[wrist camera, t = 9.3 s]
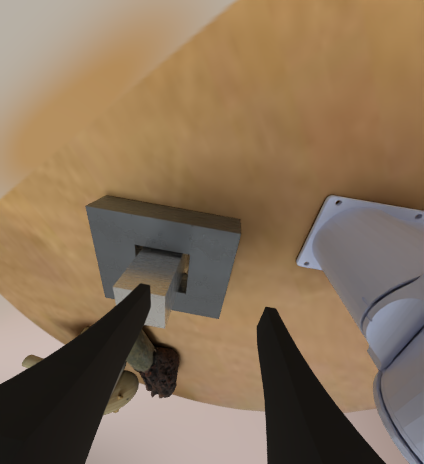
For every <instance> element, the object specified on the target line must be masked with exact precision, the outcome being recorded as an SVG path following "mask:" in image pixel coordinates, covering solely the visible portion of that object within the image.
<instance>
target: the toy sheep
mask: <svg viewBox="0 0 424 464" xmlns="http://www.w3.org/2000/svg"><path fill="white" fill-rule="evenodd" d="M88 328H90V327H86V328H84V330H83V331H82V332H81V334H82V333H83V332H84V331H86V330H87V329H88ZM41 360H43V358H40V357H37V356H34V355H29V356H27V357H26V358H25V359H24V361H23V362H22V366H24V367H26V368H30V367H31V366H33V365H35V364H36V363H38V362H40V361H41ZM126 362H127V361H125V363H124V365H123V367H122V370H121V372H120V374H119V377H118V379H117V381H116V384H115V386H114V389H113V391H112V394H111V396H110V399H109V401H108V404H107V406H106V409H105V411H104V414H103V415H106V414H109V413H111V412H114V413H116V412H118V411H119V409H120V408H121V407H123V406H124V405H125V404H127V403H128V402H129V401H130V400H131V399H132V398H133V397H134V395H135V394H136V392H137V390H138V385H139V382H138V378H137V376H136V375H135V374H134V373H132V372H130V371H126V370H124V369H125V366H126Z"/></svg>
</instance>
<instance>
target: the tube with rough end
mask: <svg viewBox="0 0 424 464" xmlns="http://www.w3.org/2000/svg"><path fill="white" fill-rule="evenodd" d="M126 361H127V362H128V363H129V364H130V365H131V366H132V367H133V368H134V370H136V371H137V372H139V373H140V375H141V377H142V378H143V380H144V382H145V385H146V389H147V390H148V391H152V392H151V396H152V397H153V396H154V395H156V394H159V398H162V397H164V398H166V397H169V396H170V395H172V393H173V392H174V390H175V388H176V380H177V372H178V367H179V357H178V355H177V354H176V352H175V351H174V350H172V349H171V348H166V347H164V348H161V347H154V346H153V344H152V343H151V342H150V340H149V339H148V337H147V335H146V334H145V333H144V331H143V330H141V332H140V334H139V336H138V338H137V340H136V342H135V343H134V345H133V347H132V349H131V351H130V353H129V355H128V357H127V359H126Z"/></svg>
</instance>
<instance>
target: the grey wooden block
mask: <svg viewBox="0 0 424 464" xmlns="http://www.w3.org/2000/svg"><path fill="white" fill-rule="evenodd" d="M186 266H187V254H183V253H178V252H172V251H167V250H161V249H156V248H151V247H145V246H144V247H143V248H142V250H141V251H140V252H139V254H138V255H137V256H136V257H135V259H134V260H133V261H132V263H131V264H130V265H129V266H128V268H127V269H126V270H125V272H124V273H123V274H122V276H121V277H120V278H119V279H118V281H117V282H116V283H115V285H114V286H113V291H114V296H115V301H116V305H117V304H119V303H120V302H121V301H122V300H123V299H124V298H125V297H126V296H127V295H128V294H129V293H130V292H132V291H133V290H134V289H135V288H136V287H137V286H138V285H139V284H140V283H142V284H148V285H150V291H151V308H150V311H149V314H148V316H147V319H146V321H145V324H144V325H149V326H154V327H159V328H165V327H166V324H167V321H168V318H169V315H170V312H171V310H172V307H173V304H174V301H175V298H176V295H177V292H178V290H179V287H180V284H181V281H182V278H183V275H184V272H185V270H186Z"/></svg>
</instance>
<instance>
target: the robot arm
mask: <svg viewBox="0 0 424 464" xmlns="http://www.w3.org/2000/svg"><path fill="white" fill-rule="evenodd" d="M338 200H340V202H339V203H338V204H335V203H336V201H338ZM416 215H418V216H417V217H415V216H416ZM305 262H307V263H305ZM296 263H297V265H298V266H301V267H307V268H312V269H318V270H323V272H324V273H325V275H326V276H327V278H328V280H329V281H330V283H331V284H332V286H333V288H334V289H335V291H336V292H337V294H338V295H339V297H340V299H341V300H342V302H343V303H344V305H345V307H346V308H347V310H348V311H349V313H350V315H351V316H352V318H353V319H354V321H355V323H356V324H357V326H358V327H359V329H360V330H361V332H362V334H363V335H364V337H365V338H366V340H367V342H368V343H369V349H368V350H367V352H368V353H369V355H370V357H371V358H372V360H373V362H374V363H375V365H376V367H377V368H378V370H379V371H378V373H377V374H376V376H375V378H374V382H373V395H374V401H375V404H376V408H377V411H378V413H379V416H380V418H381V420H382V422H383V425H384V426H385V428H386V430H387V432H388V433H389V435H390V437H391V439H392V440H393V442H394V443H395V445H396V446H397V448H398V449H399V451H400V452H401V453H402V455H403V456H404V457H405V459H406V460H407V461H408V462H409V464H424V211H422V210H416V209H411V208H405V207H399V206H393V205H387V204H382V203H376V202H370V201H364V200H359V199H353V198H347V197H341V196H336V195H331V196H329V197H327V198H326V200H325V202H324V204H323V206H322V208H321V210H320V212H319V214H318V216H317V219H316V221H315V223H314V225H313V227H312V229H311V231H310V233H309V235H308V237H307V239H306V241H305V243H304V246H303V248H302V250H301V252H300V254H299V256H298V258H297V260H296ZM150 308H151V291H150V285H148V284H142V283H140V284H139V285H138V286H137V287H136V288H135V289H134V290H133V291H132V292H130V293H129V294H128V295H127V296H126V297H125V298H124V299H123V300H122V301H121V302H120V303H119V304H117V305H116V306H115V307H114V308H113V309H112V310H111V311H109V312H108V313H107V314H106V315H105V316H103V317H102V318H101V319H100V320H98V321H97V322H96V323H95V324H94V325H92V326H91V327H90V328H88V329H87V330H86V331H84V332H83V333H82V334H80V335H79V336H77V337H76V338H75V339H73V340H72V341H70V342H69V343H67V344H66V345H64V346H63V347H62V348H60V349H59V350H57V351H56V352H54V353H53V354H51V355H49V356H48V357H46V358H45V359H43V360H41V361H40V362H38V363H36V364H35V365H33V366H31V367H30V368H28V369H26V370H25V371H23V372H21V373H20V374H18V375H16V376H15V377H13V378H11V379H9V380H7V381H5V382H4V383H2V384H0V464H85V462H86V459H87V456H88V453H89V450H90V448H91V445H92V442H93V440H94V437H95V435H96V432H97V429H98V427H99V424H100V422H101V419H102V416H103V414H104V411H105V409H106V406H107V404H108V401H109V399H110V396H111V394H112V391H113V389H114V386H115V384H116V381H117V379H118V377H119V374H120V372H121V370H122V367H123V365H124V363H125V361H126V359H127V357H128V355H129V353H130V351H131V349H132V347H133V345H134V343H135V342H136V340H137V338H138V336H139V334H140V332H141V330H142V328H143V326H144V324H145V321H146V319H147V316H148V314H149V311H150ZM257 346H258V354H259V361H260V368H261V375H262V382H263V389H264V399H265V415H266V434H267V461H268V464H386V463H385V462H384V461H383V460H382V459H381V458H380V457H379V456H378V454H377V453H376V452H375V451H374V450H373V449H372V448H371V446H370V445H369V444H368V443H367V442H366V441H365V439H364V438H363V437H362V436H361V435H360V434H359V432H358V431H357V430H356V429H355V427H354V426H353V425H352V424H351V422H350V421H349V420H348V419H347V418H346V416H345V415H344V414H343V413H342V411H341V410H340V409H339V408H338V406H337V405H336V404H335V402H334V401H333V400H332V398H331V397H330V396H329V394H328V393H327V392H326V390H325V389H324V387H323V386H322V385H321V383H320V382H319V380H318V379H317V378H316V376H315V375H314V373H313V372H312V370H311V369H310V367H309V365H308V364H307V362H306V361H305V359H304V358H303V356H302V354H301V353H300V351H299V349H298V348H297V346H296V344H295V343H294V341H293V339H292V337H291V336H290V334H289V332H288V330H287V328H286V327H285V325H284V323H283V321H282V319H281V317H280V315H279V313H278V311H277V310H276V309H275V308H270V307H265V309H264V312H263V314H262V316H261V318H260V321H259V323H258V325H257Z"/></svg>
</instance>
